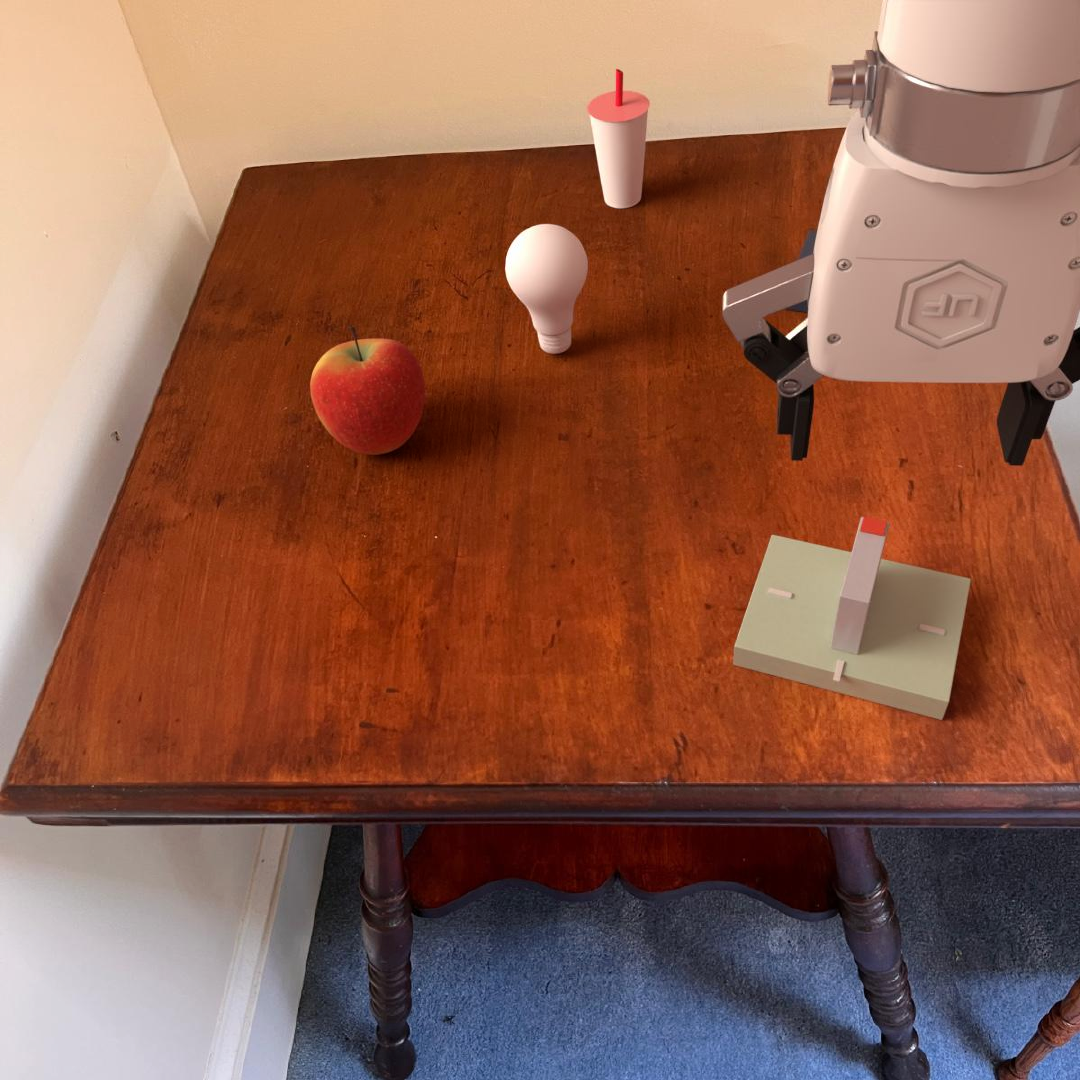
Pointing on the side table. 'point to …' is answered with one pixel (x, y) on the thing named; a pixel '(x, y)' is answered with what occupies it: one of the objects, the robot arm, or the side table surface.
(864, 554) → the tap handle
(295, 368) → the side table surface
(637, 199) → the cup
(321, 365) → the apple
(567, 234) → the lightbulb
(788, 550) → the panel
